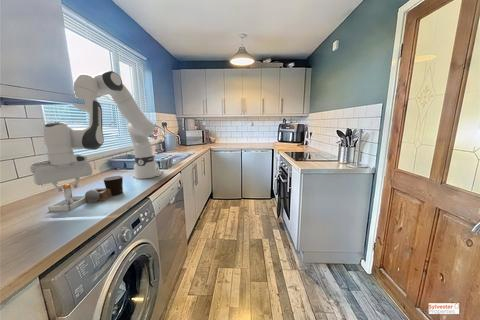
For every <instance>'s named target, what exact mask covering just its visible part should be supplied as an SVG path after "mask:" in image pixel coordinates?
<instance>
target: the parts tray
mask: <svg viewBox="0 0 480 320" xmlns="http://www.w3.org/2000/svg"><path fill="white" fill-rule="evenodd" d="M72 196H73V201H74V203H73V204H71V205H67V206H66V201H65V198H64V199H62V200H59V201H57V202H55V203H54V204H50V205H49V206H47V209H48V212H63V211H71V210H74V209H75V208H77V207H79V206H81V205H83V204H85V203H87V201H86V199H85V195H72Z"/></svg>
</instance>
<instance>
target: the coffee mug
mask: <svg viewBox="0 0 480 320" xmlns="http://www.w3.org/2000/svg"><path fill="white" fill-rule="evenodd" d="M123 178H124V177H123V176H122V175H113V176H108V177H105V178H103V179H102V180H103V182H104V183H103V184H104V186H105V187H104V188H107V189H111V194H112V196H111V197H116V196H120V195H122V194H123V193H124V192H123V191H124V188H123V187H124V185H123V184H124V183H123Z"/></svg>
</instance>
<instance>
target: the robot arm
mask: <svg viewBox="0 0 480 320" xmlns="http://www.w3.org/2000/svg"><path fill="white" fill-rule="evenodd" d="M73 83H74V91H75V95H76V97H78V98H82V99H84V100H85V105H77V104H72V106H74V107H75V108H76V109H78V110H80V111H83V112H84V113H85V112H86V113H88V114H89V125H88V127H86V128H71V127H70V126H68V124H67V122H64V121H55V122H48V123H46V124H44V126H43V128H42V129H43V132H42V133H43V139H44V140H43V141H44V145H45V146H46V149H47V152H46V154H47V159H48V160H47V161H42V162H35V163H33V164H32V165H31V166H30V172H31V173H32V174H33V182H34V184H35V185H36V186H42V185H48V184H51V185H52V186H54V187H55V188H56V191H57V192H58V193H59V192H63V187H61V186H58V182H63V181H68V180H72V179H74V183H72V188H73V189H77V188H79V186H78V185H79V182H80V180H81V179H80V178H83V177H89V176H91V175H93V169H92V165H91V163H90V162H89V161H88V156H86V155H81V154H75V153H74V152H75V151H74V150H91V151H92V150H98V149H100V148H101V147H102V146H103V144H104V140H105V139H104V138H105V137H104V134H103V133H104V131H103V108H102V105H101V104H100V102H99V101H98V98H100V97H103V96H106V95H109V96H111V98H112V100H113V102H114V104H115V105H116V107H117V109H118V110H119V112H120V114H121V115H122V116H123V117H124V118H125V119H126V121H128V124H127V126H126V129H127V132H128V133H129V136H130V138H131V141H132V145H133V152H134V165H133V174H132V178H135V179H138V180H140V179H141V180H142V179H150V178H155V177H158V176H161V174H162V173H163V170H162V169H160V167H159V164H158V163H157V161H155V158H156V156H155V154H154V155H153V147H152V143H151V142H150V140H149V138H148V137H149V136H151V135H152V134H154V132H155V124H154V123H153V122H152V121H150V120H149V119H148V118H147V116H146V115H145V114H144V113H143V112H142V110H141V109H140V108H139V106H138V104H137V102H136V101H135V99H134V97H133V95H132V94H131V92H130V90H129V89H128V88H127V87H126V85H125V84H124V83H123V81H122V78H121V76H120V75H119V74H118V73H116V72H115V71H114V70H105V71H103V72H100V73H98V74H95V75H90V74H87V73H80V74H78V75H77V76H76V78H75V80H74V81H73Z"/></svg>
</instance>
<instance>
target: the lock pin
mask: <svg viewBox="0 0 480 320" xmlns="http://www.w3.org/2000/svg"><path fill="white" fill-rule="evenodd" d="M61 186H62V192H63V196H64V199H65V201H66V204H65V206H67V205H71V204H73V203H75V200H73V196H74V195H73V191H72V188H71V187H72V186H71V184H70V183H66V184H62V185H61Z"/></svg>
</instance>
